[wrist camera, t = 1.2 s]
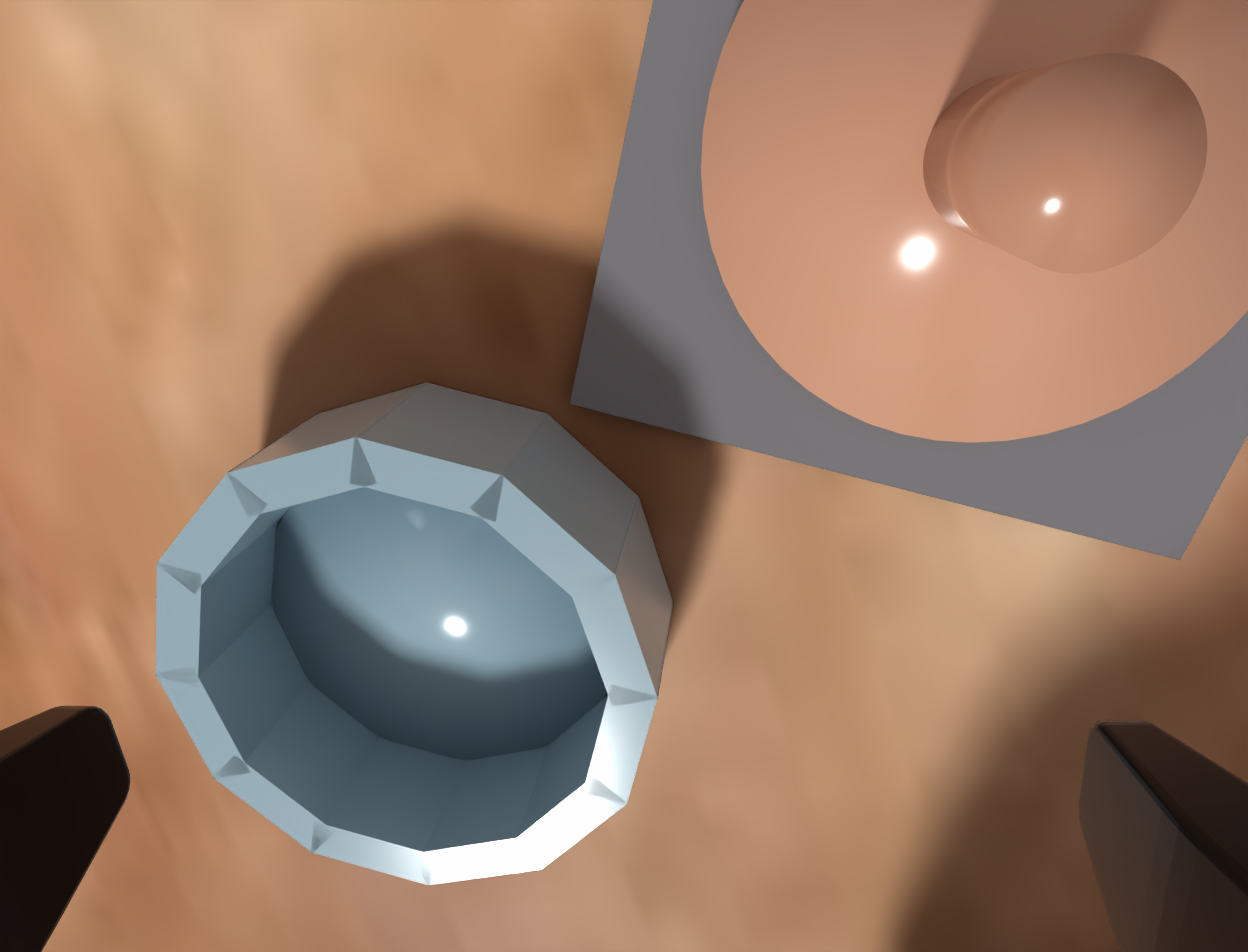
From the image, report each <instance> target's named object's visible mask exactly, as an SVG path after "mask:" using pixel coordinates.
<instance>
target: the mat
mask: <svg viewBox="0 0 1248 952" xmlns="http://www.w3.org/2000/svg"><path fill="white" fill-rule="evenodd" d="M743 1H744V0H653V4H652V9H651V14H650V18H649V23H648V28H647V33H646V38H645V43H644V47H643V52H642V57H641V62H640V67H639V72H638V76H637V81H636V86H635V91H634V96H633V101H632V105H631V110H630V115H629V120H628V125H627V130H626V134H625V139H624V144H623V149H622V154H621V159H620V163H619V168H618V173H617V178H616V183H615V188H614V192H613V197H612V202H611V207H610V212H609V217H608V221H607V226H606V231H605V236H604V241H603V246H602V250H601V255H600V260H599V265H598V270H597V275H596V279H595V284H594V289H593V294H592V299H591V304H590V308H589V313H588V318H587V323H586V328H585V333H584V337H583V342H582V347H581V352H580V357H579V362H578V366H577V371H576V376H575V381H574V386H573V391H572V395H571V400H570V404H572V405H576V406H580V407H583V408H587V409H591V410H595V411H599V412H603V413H607V414H611V415H615V416H619V417H622V418H626V419H630V420H634V421H638V422H642V423H646V424H650V425H654V426H658V427H662V428H665V429H669V430H673V431H677V432H681V433H685V434H689V435H693V436H697V437H701V438H705V439H708V440H712V441H716V442H720V443H724V444H728V445H732V446H736V447H740V448H744V449H747V450H751V451H755V452H759V453H763V454H767V455H771V456H775V457H779V458H783V459H787V460H790V461H794V462H798V463H802V464H806V465H810V466H814V467H818V468H822V469H826V470H829V471H833V472H837V473H841V474H845V475H849V476H853V477H857V478H861V479H865V480H869V481H872V482H876V483H880V484H884V485H888V486H892V487H896V488H900V489H904V490H908V491H912V492H915V493H919V494H923V495H927V496H931V497H935V498H939V499H943V500H947V501H951V502H954V503H958V504H962V505H966V506H970V507H974V508H978V509H982V510H986V511H990V512H994V513H997V514H1001V515H1005V516H1009V517H1013V518H1017V519H1021V520H1025V521H1029V522H1033V523H1036V524H1040V525H1044V526H1048V527H1052V528H1056V529H1060V530H1064V531H1068V532H1072V533H1076V534H1079V535H1083V536H1087V537H1091V538H1095V539H1099V540H1103V541H1107V542H1111V543H1115V544H1119V545H1122V546H1126V547H1130V548H1134V549H1138V550H1142V551H1146V552H1150V553H1154V554H1158V555H1161V556H1165V557H1169V558H1173V559H1177V560H1180V559H1181V558H1182V556H1183V554H1184V552H1185V550H1186V548H1187V547H1188V545H1189V543H1190V541H1191V539H1192V537H1193V535H1194V534H1195V532H1196V530H1197V528H1198V526H1199V524H1200V522H1201V521H1202V519H1203V517H1204V515H1205V513H1206V511H1207V510H1208V508H1209V506H1210V504H1211V502H1212V500H1213V498H1214V497H1215V495H1216V493H1217V491H1218V489H1219V487H1220V486H1221V484H1222V482H1223V480H1224V478H1225V476H1226V474H1227V473H1228V471H1229V469H1230V467H1231V465H1232V463H1233V461H1234V460H1235V458H1236V456H1237V454H1238V452H1239V450H1240V449H1241V447H1242V445H1243V443H1244V441H1245V439H1246V437H1247V436H1248V311H1247V312H1246V313H1245V314H1244V315H1243V316H1242V317H1241V319H1240V320H1239V321H1238V322H1237V323H1236V324H1235V325H1234V326H1233V327H1232V328H1231V329H1230V330H1229V331H1228V332H1227V333H1226V335H1225V336H1224V337H1222V338H1221V339H1220V340H1219V341H1218V342H1217V343H1215V344H1214V345H1213V346H1212V347H1211V348H1210V349H1209V350H1207V351H1206V352H1205V353H1204V354H1203V355H1202V356H1200V357H1199V358H1198V359H1197V360H1196V361H1195V362H1193V363H1192V364H1191V365H1190V366H1188V367H1187V368H1185V369H1184V370H1182V371H1181V372H1180V373H1178V374H1177V375H1175V376H1174V377H1172V378H1171V379H1169V380H1168V381H1166V382H1165V383H1164V384H1162V385H1161V386H1159V387H1158V388H1156V389H1154V390H1153V391H1151V392H1149V393H1147V394H1145V395H1143V396H1142V397H1140V398H1138V399H1136V400H1134V401H1132V402H1131V403H1129V404H1127V405H1125V406H1123V407H1121V408H1119V409H1117V410H1114V411H1112V412H1110V413H1107V414H1105V415H1102V416H1100V417H1097V418H1095V419H1093V420H1090V421H1088V422H1085V423H1083V424H1079V425H1076V426H1072V427H1069V428H1065V429H1062V430H1059V431H1055V432H1052V433H1048V434H1044V435H1038V436H1032V437H1027V438H1021V439H1015V440H1009V441H992V442H975V443H969V442H953V441H937V440H931V439H925V438H920V437H915V436H909V435H904V434H899V433H896V432H893V431H890V430H887V429H884V428H881V427H878V426H874V425H871V424H868V423H866V422H864V421H862V420H859V419H857V418H855V417H853V416H851V415H849V414H847V413H845V412H842V411H840V410H838V409H836V408H835V407H833V406H831V405H830V404H828V403H827V402H825V401H824V400H822V399H821V398H819V397H817V396H816V395H814V394H813V393H811V392H810V391H808V390H807V389H806V388H804V387H803V386H802V385H801V384H800V383H799V382H797V381H796V380H795V379H794V378H793V377H792V376H790V375H789V374H788V373H787V372H786V371H784V370H783V369H782V368H781V367H780V366H779V365H778V363H777V362H776V361H775V360H774V359H773V358H772V357H771V356H770V355H769V353H768V352H767V351H766V350H765V349H764V348H763V347H762V346H761V345H760V343H759V342H758V341H757V339H756V338H755V336H754V335H753V333H752V332H751V330H750V329H749V327H748V326H747V325H746V323H745V322H744V320H743V319H742V317H741V316H740V314H739V312H738V310H737V308H736V306H735V304H734V302H733V300H732V298H731V296H730V294H729V292H728V290H727V288H726V286H725V284H724V282H723V280H722V277H721V274H720V271H719V268H718V265H717V262H716V259H715V256H714V253H713V251H712V248H711V243H710V238H709V233H708V228H707V223H706V218H705V214H704V206H703V193H702V179H701V159H702V140H703V127H704V122H705V116H706V110H707V104H708V99H709V93H710V88H711V85H712V81H713V78H714V75H715V71H716V68H717V65H718V61H719V58H720V55H721V51H722V48H723V46H724V43H725V41H726V39H727V36H728V34H729V32H730V29H731V27H732V25H733V22H734V20H735V18H736V16H737V13H738V11H739V9H740V6H741V5H742V3H743Z"/></svg>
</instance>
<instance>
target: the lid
mask: <svg viewBox="0 0 1248 952" xmlns="http://www.w3.org/2000/svg"><path fill="white" fill-rule="evenodd" d="M701 179H702V193H703V206H704V214H705V218H706V223H707V228H708V233H709V238H710V243H711V248H712V251H713V253H714V256H715V259H716V262H717V265H718V268H719V271H720V274H721V277H722V280H723V282H724V284H725V286H726V288H727V290H728V292H729V294H730V296H731V298H732V300H733V302H734V304H735V306H736V308H737V310H738V312H739V314H740V316H741V317H742V319H743V320H744V322H745V323H746V325H747V326H748V327H749V329H750V330H751V332H752V333H753V335H754V336H755V338H756V339H757V341H758V342H759V343H760V345H761V346H762V347H763V348H764V349H765V350H766V351H767V352H768V353H769V355H770V356H771V357H772V358H773V359H774V360H775V361H776V362H777V363H778V365H779V366H780V367H781V368H782V369H783V370H784V371H786V372H787V373H788V374H789V375H790V376H792V377H793V378H794V379H795V380H796V381H797V382H799V383H800V384H801V385H802V386H803V387H804V388H806V389H807V390H808V391H810V392H811V393H813V394H814V395H816V396H817V397H819V398H821V399H822V400H824V401H825V402H827V403H828V404H830V405H831V406H833V407H835V408H836V409H838V410H840V411H842V412H845V413H847V414H849V415H851V416H853V417H855V418H857V419H859V420H862V421H864V422H866V423H868V424H871V425H874V426H878V427H881V428H884V429H887V430H890V431H893V432H896V433H899V434H904V435H909V436H915V437H920V438H925V439H931V440H937V441H953V442H969V443H975V442H992V441H1009V440H1015V439H1021V438H1027V437H1032V436H1038V435H1044V434H1048V433H1052V432H1055V431H1059V430H1062V429H1065V428H1069V427H1072V426H1076V425H1079V424H1083V423H1085V422H1088V421H1090V420H1093V419H1095V418H1097V417H1100V416H1102V415H1105V414H1107V413H1110V412H1112V411H1114V410H1117V409H1119V408H1121V407H1123V406H1125V405H1127V404H1129V403H1131V402H1132V401H1134V400H1136V399H1138V398H1140V397H1142V396H1143V395H1145V394H1147V393H1149V392H1151V391H1153V390H1154V389H1156V388H1158V387H1159V386H1161V385H1162V384H1164V383H1165V382H1166V381H1168V380H1169V379H1171V378H1172V377H1174V376H1175V375H1177V374H1178V373H1180V372H1181V371H1182V370H1184V369H1185V368H1187V367H1188V366H1190V365H1191V364H1192V363H1193V362H1195V361H1196V360H1197V359H1198V358H1199V357H1200V356H1202V355H1203V354H1204V353H1205V352H1206V351H1207V350H1209V349H1210V348H1211V347H1212V346H1213V345H1214V344H1215V343H1217V342H1218V341H1219V340H1220V339H1221V338H1222V337H1224V336H1225V335H1226V333H1227V332H1228V331H1229V330H1230V329H1231V328H1232V327H1233V326H1234V325H1235V324H1236V323H1237V322H1238V321H1239V320H1240V319H1241V317H1242V316H1243V315H1244V314H1245V313H1246V312H1247V311H1248V0H744V1H743V3H742V5H741V6H740V9H739V11H738V13H737V16H736V18H735V20H734V22H733V25H732V27H731V29H730V32H729V34H728V36H727V39H726V41H725V43H724V46H723V48H722V51H721V55H720V58H719V61H718V65H717V68H716V71H715V75H714V78H713V81H712V85H711V88H710V93H709V99H708V104H707V110H706V116H705V122H704V127H703V140H702V159H701Z"/></svg>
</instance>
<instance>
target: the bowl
mask: <svg viewBox="0 0 1248 952" xmlns="http://www.w3.org/2000/svg"><path fill="white" fill-rule="evenodd" d="M672 606H673V601H672V598H671V595H670V592H669V588H668V585H667V582H666V579H665V576H664V573H663V570H662V567H661V564H660V561H659V558H658V555H657V552H656V548H655V545H654V542H653V539H652V536H651V533H650V530H649V527H648V524H647V521H646V518H645V515H644V512H643V509H642V505H641V502H640V499H639V496H637V495H636V494H635V493H634V492H633V491H632V490H631V489H630V488H629V487H628V486H626V485H625V484H624V483H623V482H622V481H621V480H620V479H619V478H618V477H617V476H616V475H614V474H613V473H612V472H611V471H610V470H609V469H608V468H607V467H606V466H605V465H603V464H602V463H601V462H600V461H599V460H598V459H597V458H596V457H595V456H594V455H592V454H591V453H590V452H589V451H588V450H587V449H586V448H585V447H584V446H583V445H581V444H580V443H579V442H578V441H577V440H576V439H575V438H574V437H573V436H572V435H570V434H569V433H568V432H567V431H566V430H565V429H564V428H563V427H562V426H561V425H559V424H558V423H557V422H556V421H555V420H554V419H553V418H552V417H551V416H550V415H548V413H544V412H540V411H536V410H532V409H528V408H524V407H521V406H517V405H513V404H509V403H505V402H501V401H497V400H493V399H489V398H485V397H482V396H478V395H474V394H470V393H466V392H462V391H458V390H454V389H450V388H447V387H443V386H439V385H435V384H431V383H428V382H425V383H423V384H419V385H416V386H412V387H409V388H406V389H402V390H399V391H395V392H392V393H388V394H385V395H381V396H378V397H374V398H371V399H367V400H364V401H360V402H357V403H353V404H350V405H346V406H343V407H339V408H336V409H332V410H329V411H325V412H322V413H318V414H316V415H315V416H313V417H312V418H310V419H309V420H307V421H306V422H304V423H302V424H301V425H299V426H298V427H296V428H295V429H293V430H292V431H290V432H289V433H287V434H286V435H284V436H282V437H281V438H279V439H278V440H276V441H275V442H273V443H272V444H270V445H269V446H267V447H266V448H264V449H262V450H261V451H259V452H258V453H256V454H255V455H253V456H252V457H250V458H249V459H247V460H246V461H244V462H242V463H241V464H239V465H238V466H236V467H235V468H233V469H232V470H230V471H229V472H227V473H226V475H225V476H224V478H223V479H222V480H221V482H220V483H219V484H218V485H217V487H216V488H215V489H214V491H213V492H212V493H211V494H210V496H209V497H208V498H207V499H206V501H205V502H204V503H203V505H202V506H201V507H200V508H199V510H198V511H197V512H196V514H195V515H194V516H193V517H192V519H191V520H190V521H189V523H188V524H187V525H186V526H185V528H184V529H183V530H182V532H181V533H180V534H179V535H178V537H177V538H176V539H175V541H174V542H173V543H172V544H171V546H170V547H169V548H168V550H167V551H166V552H165V553H164V555H163V556H162V557H161V559H160V560H159V561H158V562H157V606H156V676H157V678H158V680H159V681H160V683H161V685H162V687H163V689H164V690H165V692H166V694H167V696H168V697H169V699H170V701H171V703H172V705H173V706H174V708H175V710H176V712H177V713H178V715H179V717H180V719H181V721H182V722H183V724H184V726H185V728H186V729H187V731H188V733H189V735H190V737H191V738H192V740H193V742H194V744H195V745H196V747H197V749H198V751H199V753H200V754H201V756H202V758H203V760H204V761H205V763H206V765H207V767H208V769H209V770H210V772H211V774H212V776H213V778H214V779H216V780H217V781H218V782H220V783H221V784H222V785H223V786H225V787H226V788H227V789H229V790H230V791H231V792H233V793H234V794H235V795H237V796H238V797H239V798H241V799H242V800H243V801H245V802H246V803H247V804H249V805H250V806H251V807H253V808H254V809H255V810H256V811H258V812H259V813H260V814H262V815H263V816H264V817H266V818H267V819H268V820H270V821H271V822H272V823H274V824H275V825H276V826H278V827H279V828H280V829H282V830H283V831H284V832H286V833H287V834H288V835H290V836H291V837H292V838H293V839H295V840H296V841H297V842H299V843H300V844H301V845H303V846H304V847H305V848H307V849H308V850H309V851H311V852H312V853H316V854H319V855H323V856H326V857H330V858H333V859H337V860H341V861H344V862H348V863H351V864H355V865H358V866H362V867H365V868H369V869H373V870H376V871H380V872H383V873H387V874H390V875H394V876H398V877H401V878H405V879H408V880H412V881H415V882H419V883H422V884H426V885H434V884H441V883H448V882H455V881H462V880H470V879H477V878H484V877H491V876H498V875H506V874H513V873H520V872H527V871H534V870H542V869H543V868H544V867H546V866H547V865H548V864H549V863H551V862H552V861H553V860H555V859H556V858H557V857H559V856H560V855H561V854H562V853H564V852H565V851H566V850H568V849H569V848H570V847H572V846H573V845H574V844H575V843H577V842H578V841H579V840H581V839H582V838H583V837H585V836H586V835H587V834H588V833H590V832H591V831H592V830H594V829H595V828H596V827H597V826H599V825H600V824H601V823H603V822H604V821H605V820H607V819H608V818H609V817H610V816H612V815H613V814H614V813H616V812H617V811H618V810H620V809H621V808H622V807H623V806H625V805H627V803H628V798H629V794H630V791H631V787H632V784H633V780H634V777H635V774H636V770H637V767H638V763H639V760H640V756H641V753H642V749H643V746H644V742H645V739H646V736H647V732H648V729H649V725H650V722H651V718H652V715H653V711H654V708H655V705H656V701H657V699H658V695H659V688H660V682H661V676H662V669H663V663H664V657H665V651H666V644H667V638H668V632H669V625H670V619H671V613H672Z"/></svg>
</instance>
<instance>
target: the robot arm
mask: <svg viewBox="0 0 1248 952" xmlns="http://www.w3.org/2000/svg"><path fill="white" fill-rule="evenodd" d="M129 787H130V774H129V770H128V767H127V764H126V761H125V758H124V756H123V753H122V750H121V747H120V744H119V742H118V739H117V736H116V733H115V730H114V728H113V725H112V722H111V720H110V718H109V716H108V715H107V714H106V713H105V712H104V711H103V710H102V709H101V708H98V707H95V706H59V707H55V708H52V709H49V710H47V711H45V712H42V713H40V714H38V715H35V716H33V717H31V718H28V719H26V720H24V721H21V722H19V723H17V724H15V725H12V726H10V727H8V728H5V729H3V730H1V731H0V952H42V950H43V948H44V946H45V945H46V943H47V941H48V939H49V938H50V936H51V934H52V933H53V931H54V929H55V927H56V926H57V924H58V922H59V920H60V918H61V917H62V915H63V913H64V911H65V909H66V908H67V906H68V904H69V902H70V900H71V899H72V897H73V895H74V893H75V891H76V890H77V888H78V886H79V884H80V882H81V881H82V879H83V877H84V875H85V873H86V871H87V870H88V868H89V866H90V864H91V862H92V861H93V859H94V857H95V855H96V853H97V852H98V850H99V848H100V846H101V844H102V843H103V841H104V839H105V837H106V835H107V833H108V832H109V830H110V828H111V826H112V824H113V823H114V821H115V819H116V817H117V815H118V814H119V812H120V810H121V808H122V806H123V805H124V803H125V800H126V798H127V795H128V792H129ZM1079 818H1080V823H1081V828H1082V832H1083V835H1084V839H1085V842H1086V845H1087V848H1088V852H1089V855H1090V858H1091V861H1092V864H1093V868H1094V871H1095V874H1096V877H1097V881H1098V884H1099V887H1100V890H1101V894H1102V897H1103V900H1104V903H1105V906H1106V910H1107V913H1108V916H1109V919H1110V923H1111V926H1112V929H1113V932H1114V936H1115V939H1116V942H1117V945H1118V948H1119V952H1248V783H1246V782H1245V781H1243V780H1242V779H1240V778H1238V777H1237V776H1235V775H1234V774H1232V773H1230V772H1229V771H1227V770H1226V769H1224V768H1222V767H1221V766H1219V765H1218V764H1216V763H1214V762H1213V761H1211V760H1210V759H1208V758H1206V757H1205V756H1203V755H1202V754H1200V753H1198V752H1197V751H1195V750H1194V749H1192V748H1190V747H1189V746H1187V745H1186V744H1184V743H1182V742H1181V741H1179V740H1178V739H1176V738H1174V737H1173V736H1171V735H1170V734H1168V733H1166V732H1165V731H1163V730H1162V729H1160V728H1158V727H1157V726H1155V725H1153V724H1151V723H1148V722H1144V721H1098V722H1097V723H1095V724H1094V725H1092V727H1091V729H1090V731H1089V733H1088V737H1087V743H1086V751H1085V758H1084V765H1083V772H1082V779H1081V786H1080V794H1079Z"/></svg>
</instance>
